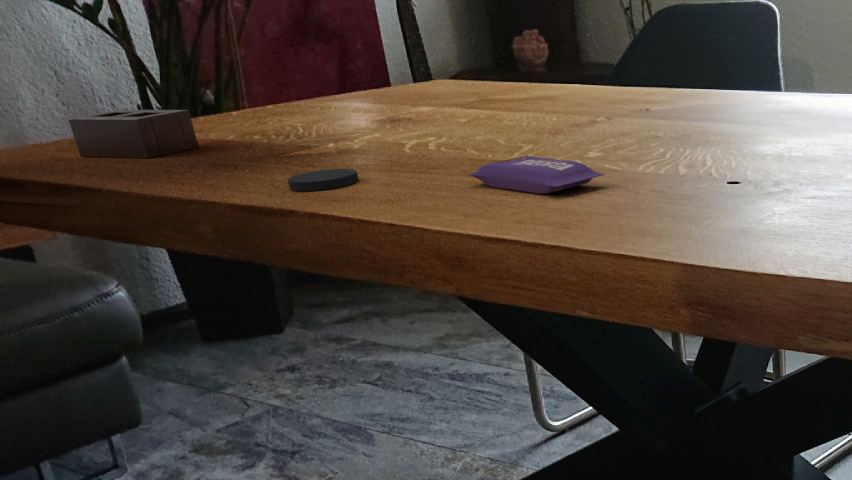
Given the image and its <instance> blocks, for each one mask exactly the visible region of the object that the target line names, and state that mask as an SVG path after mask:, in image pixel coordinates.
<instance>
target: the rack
mask: <svg viewBox="0 0 852 480" xmlns="http://www.w3.org/2000/svg"><path fill="white" fill-rule="evenodd" d="M67 120H68V122H69V126H70V129H71V133H72V135H73V139H74V141H75V144H76V147H77V150H78V153H79V156H80V157H82V158H83V157H85V158H88V157H89V158H117V159H119V158H123V159H125V158H126V159H152V158H157V157H162V156H166V155H167V156H168V155H171V154H177V153H181V152H185V151H191V150H195V149H199V148H200V145H199V143H198V139H197V136H196V135H197V134H196V132H195V128H194V125H193V122H192V118H191V114H190V111H189V109H117V110H112V111H111V110H110V111H105V112H100V113H93V114H87V115H82V116H75V117H70V118H68V119H67Z"/></svg>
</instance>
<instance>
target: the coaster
mask: <svg viewBox="0 0 852 480" xmlns="http://www.w3.org/2000/svg"><path fill="white" fill-rule="evenodd" d="M358 182H359V175H358V172H357V170H356V169H352V168H331V169H329V168H328V169H322V170H315V171H308V172H303V173H299V174H296V175H292V176H291V177H288V178H287V183H288V188H289V189H290V191H295V192H317V191H327V190H334V189H339V188H343V187H347V186H351V185H354V184H356V183H358Z"/></svg>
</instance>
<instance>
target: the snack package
mask: <svg viewBox="0 0 852 480" xmlns="http://www.w3.org/2000/svg"><path fill="white" fill-rule="evenodd" d="M605 175H606V174H605V173H603V172H599V171H598V172H597V171H595V170H592V168H590V167H589V166H587V165H586V164H584V163H581V162H579V161H574V160H570V159H569V160H568V159H556V158H549V157H538V156H533V155H525V156H518V157H514V158H509V159H505V160H500V161H496V162H495V161H494V162H491V163H487V164H483V165H481V166H480V167H479V168H478V169H477V171H475V172H472V173H467V176H470V177H473V178H476V179H477V180H479V181H480V182H482V183H483V184H485V185H488V187H489V186H490V187H492V188H496V189H503V190H512V191H516V192H517V191H518V192H526V193H530V194H531V193H532V194H538V195H539V194H540V195H545V194H551V193H555V192H558V191H563V190H567V189H572V188H575V187H579V186H582V185H586V184H589V183H590V182H591V181H592V180H593V179H594V178H597V177H602V176H605Z"/></svg>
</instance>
